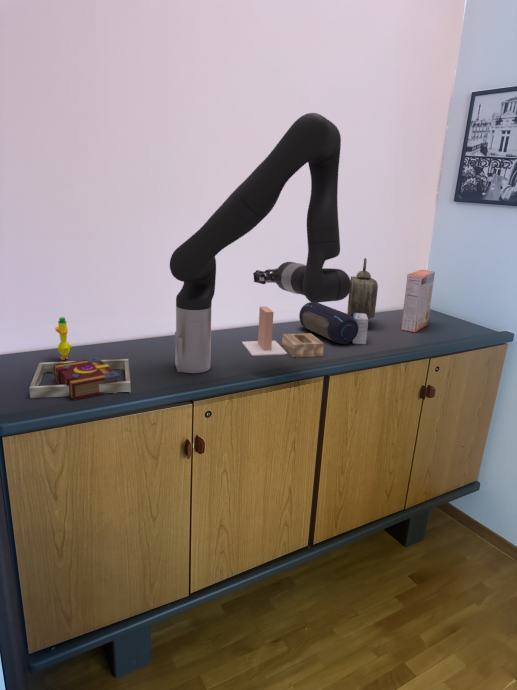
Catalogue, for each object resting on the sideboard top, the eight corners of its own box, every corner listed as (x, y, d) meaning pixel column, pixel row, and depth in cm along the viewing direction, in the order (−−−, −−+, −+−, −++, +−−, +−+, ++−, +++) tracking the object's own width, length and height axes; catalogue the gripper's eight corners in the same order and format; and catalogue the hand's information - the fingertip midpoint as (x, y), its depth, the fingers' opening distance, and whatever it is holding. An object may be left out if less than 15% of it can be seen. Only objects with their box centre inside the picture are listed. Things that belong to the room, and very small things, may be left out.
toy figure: (52, 357, 141) (49, 315, 138) (65, 354, 144) (62, 313, 140) (62, 363, 137) (59, 320, 133) (75, 361, 139) (72, 318, 135)
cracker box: (412, 322, 197) (420, 269, 190) (428, 325, 193) (436, 271, 187) (399, 330, 186) (406, 273, 179) (415, 333, 182) (423, 275, 176)
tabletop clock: (346, 320, 196) (352, 254, 189) (370, 321, 195) (377, 256, 188) (347, 329, 183) (354, 260, 175) (372, 332, 182) (381, 261, 174)
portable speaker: (293, 327, 182) (295, 300, 179) (316, 325, 187) (318, 298, 184) (335, 348, 161) (338, 317, 158) (360, 344, 166) (363, 315, 163)
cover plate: (263, 350, 154) (265, 312, 151) (257, 343, 161) (259, 306, 157) (271, 350, 155) (273, 311, 151) (265, 343, 161) (267, 306, 158)
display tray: (30, 398, 115) (29, 388, 114) (40, 371, 130) (39, 362, 130) (130, 392, 120) (130, 382, 120) (128, 367, 136) (128, 358, 135)
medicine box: (365, 344, 166) (368, 319, 163) (352, 343, 167) (354, 318, 164) (364, 338, 174) (366, 313, 171) (350, 337, 174) (353, 312, 171)
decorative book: (72, 402, 115) (71, 382, 113) (52, 379, 127) (50, 360, 125) (121, 392, 121) (120, 373, 120) (97, 371, 133) (96, 353, 132)
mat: (252, 356, 150) (252, 354, 150) (241, 342, 162) (242, 341, 162) (287, 354, 153) (287, 353, 153) (274, 341, 165) (275, 340, 165)
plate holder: (293, 357, 150) (294, 344, 149) (281, 346, 160) (282, 334, 159) (322, 356, 153) (323, 343, 152) (309, 345, 163) (310, 333, 162)
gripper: (319, 259, 129) (293, 255, 144) (268, 267, 125) (245, 261, 139) (321, 288, 131) (295, 281, 146) (270, 297, 127) (248, 288, 141)
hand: (271, 271), depth 143 cm, fingers open, 8 cm apart
